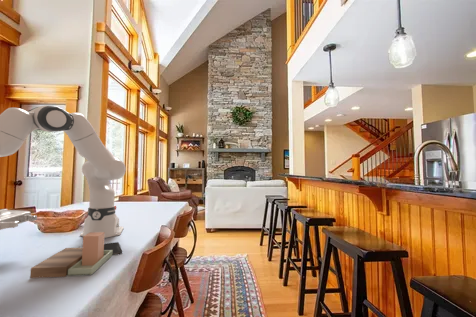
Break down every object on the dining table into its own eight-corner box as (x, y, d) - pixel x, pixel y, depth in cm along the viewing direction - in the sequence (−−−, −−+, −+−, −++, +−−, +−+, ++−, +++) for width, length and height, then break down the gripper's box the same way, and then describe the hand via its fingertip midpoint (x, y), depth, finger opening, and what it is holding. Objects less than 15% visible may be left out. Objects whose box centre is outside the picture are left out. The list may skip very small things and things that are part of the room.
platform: (65, 255, 92) (66, 247, 93) (93, 255, 94) (93, 247, 94) (30, 277, 74) (30, 268, 74) (65, 276, 75) (66, 266, 75)
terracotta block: (88, 260, 87) (90, 232, 88) (103, 259, 88) (104, 232, 88) (81, 265, 82) (83, 236, 83) (97, 265, 83) (98, 236, 84)
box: (93, 255, 93) (93, 250, 93) (112, 255, 94) (112, 249, 94) (67, 275, 76) (67, 269, 76) (91, 275, 76) (91, 268, 77)
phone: (100, 255, 92) (98, 244, 105) (100, 258, 92) (98, 247, 104) (122, 251, 96) (118, 241, 109) (122, 254, 96) (118, 244, 109)
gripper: (-47, 220, 74) (3, 219, 76) (6, 208, 95) (45, 207, 97) (-48, 240, 74) (2, 238, 76) (6, 224, 94) (44, 223, 96)
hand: (26, 221), depth 86 cm, fingers open, 8 cm apart
